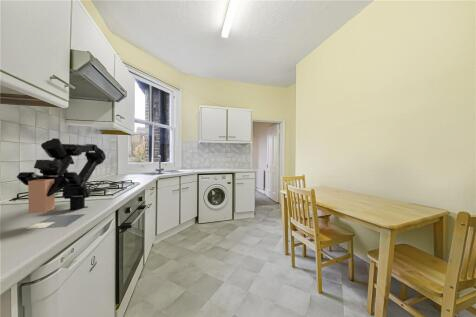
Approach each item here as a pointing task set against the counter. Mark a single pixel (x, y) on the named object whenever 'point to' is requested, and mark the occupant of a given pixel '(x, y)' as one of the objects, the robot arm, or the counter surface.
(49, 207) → the column
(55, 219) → the baseplate
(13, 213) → the counter surface
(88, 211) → the counter surface
